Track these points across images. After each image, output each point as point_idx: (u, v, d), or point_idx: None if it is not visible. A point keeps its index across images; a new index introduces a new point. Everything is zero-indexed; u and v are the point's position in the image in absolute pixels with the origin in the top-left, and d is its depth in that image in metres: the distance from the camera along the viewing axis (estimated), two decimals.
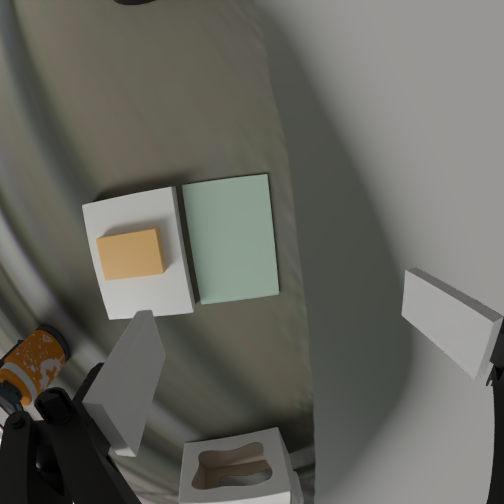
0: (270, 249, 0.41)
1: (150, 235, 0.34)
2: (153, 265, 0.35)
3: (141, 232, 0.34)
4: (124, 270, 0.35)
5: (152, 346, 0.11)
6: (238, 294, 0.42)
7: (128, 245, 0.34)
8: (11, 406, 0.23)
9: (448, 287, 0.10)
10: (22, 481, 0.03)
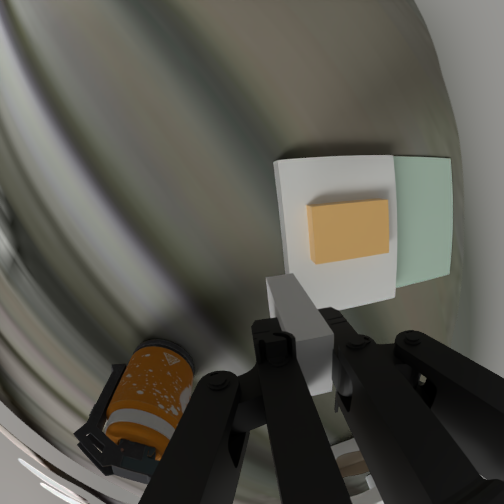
0: (449, 230, 0.34)
1: (382, 206, 0.27)
2: (380, 243, 0.28)
3: (373, 202, 0.27)
4: (345, 249, 0.28)
5: None
6: (422, 275, 0.35)
7: (356, 217, 0.27)
8: None
9: (302, 295, 0.12)
10: (209, 454, 0.05)
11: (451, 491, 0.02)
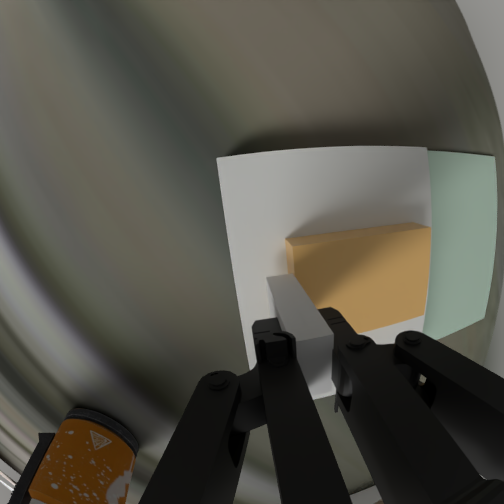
0: (491, 260, 0.21)
1: (421, 240, 0.14)
2: (413, 301, 0.15)
3: (407, 233, 0.14)
4: (354, 319, 0.15)
5: None
6: (452, 326, 0.22)
7: (376, 262, 0.14)
8: None
9: (302, 295, 0.12)
10: (209, 454, 0.05)
11: (450, 491, 0.02)
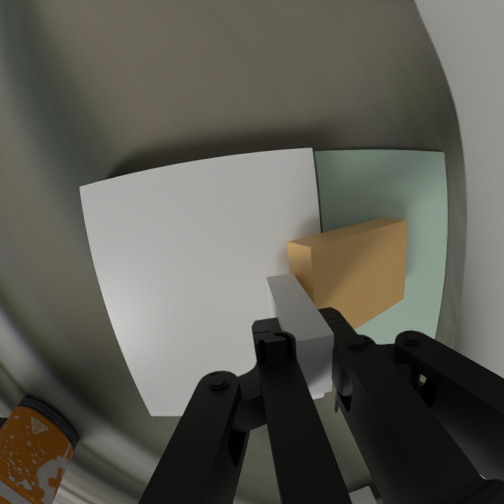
0: (439, 276, 0.20)
1: (401, 232, 0.17)
2: (396, 288, 0.18)
3: (392, 226, 0.16)
4: (357, 312, 0.16)
5: None
6: None
7: (372, 255, 0.16)
8: None
9: (302, 295, 0.12)
10: (209, 454, 0.05)
11: (450, 491, 0.02)
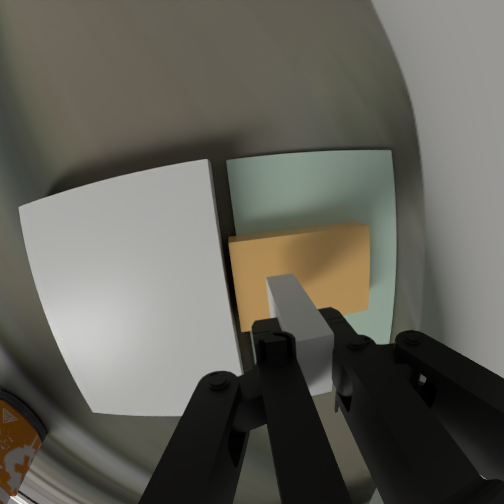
0: (388, 289, 0.20)
1: (359, 238, 0.17)
2: (354, 296, 0.18)
3: (342, 231, 0.17)
4: None
5: None
6: None
7: (310, 258, 0.17)
8: None
9: (302, 295, 0.12)
10: (209, 454, 0.05)
11: (451, 491, 0.02)
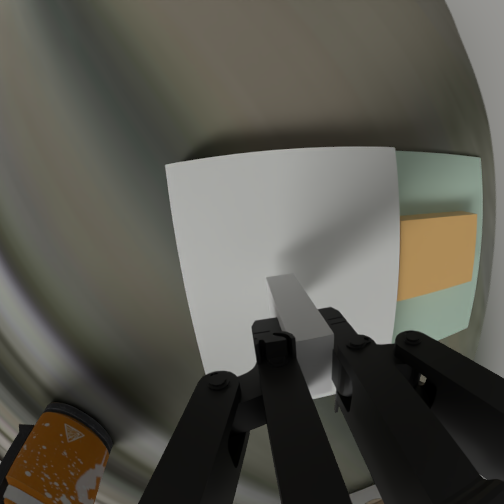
0: (475, 267, 0.21)
1: (471, 223, 0.17)
2: (465, 269, 0.18)
3: (464, 217, 0.17)
4: (431, 280, 0.18)
5: None
6: (431, 336, 0.22)
7: (446, 237, 0.17)
8: None
9: (302, 295, 0.12)
10: (209, 454, 0.05)
11: (450, 491, 0.02)
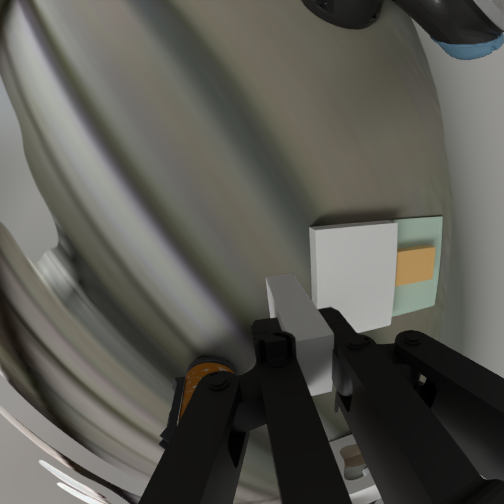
0: (436, 272, 0.45)
1: (432, 251, 0.41)
2: (428, 273, 0.42)
3: (427, 249, 0.41)
4: (410, 277, 0.42)
5: None
6: (412, 307, 0.46)
7: (418, 258, 0.41)
8: None
9: (302, 295, 0.12)
10: (209, 454, 0.05)
11: (450, 491, 0.02)
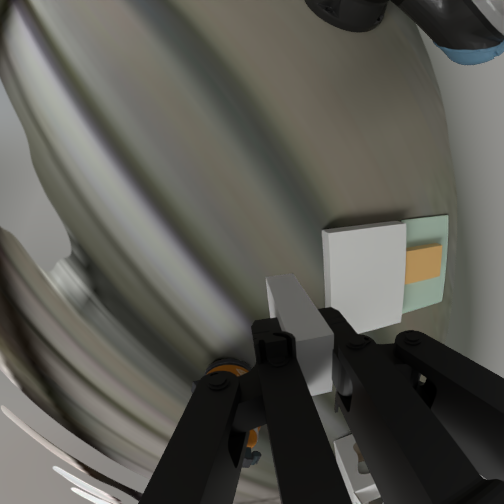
0: (443, 269, 0.45)
1: (439, 249, 0.42)
2: (436, 270, 0.43)
3: (435, 247, 0.42)
4: (419, 275, 0.43)
5: None
6: (421, 304, 0.47)
7: (426, 256, 0.42)
8: (248, 462, 0.28)
9: (302, 295, 0.12)
10: (209, 454, 0.05)
11: (450, 491, 0.02)
